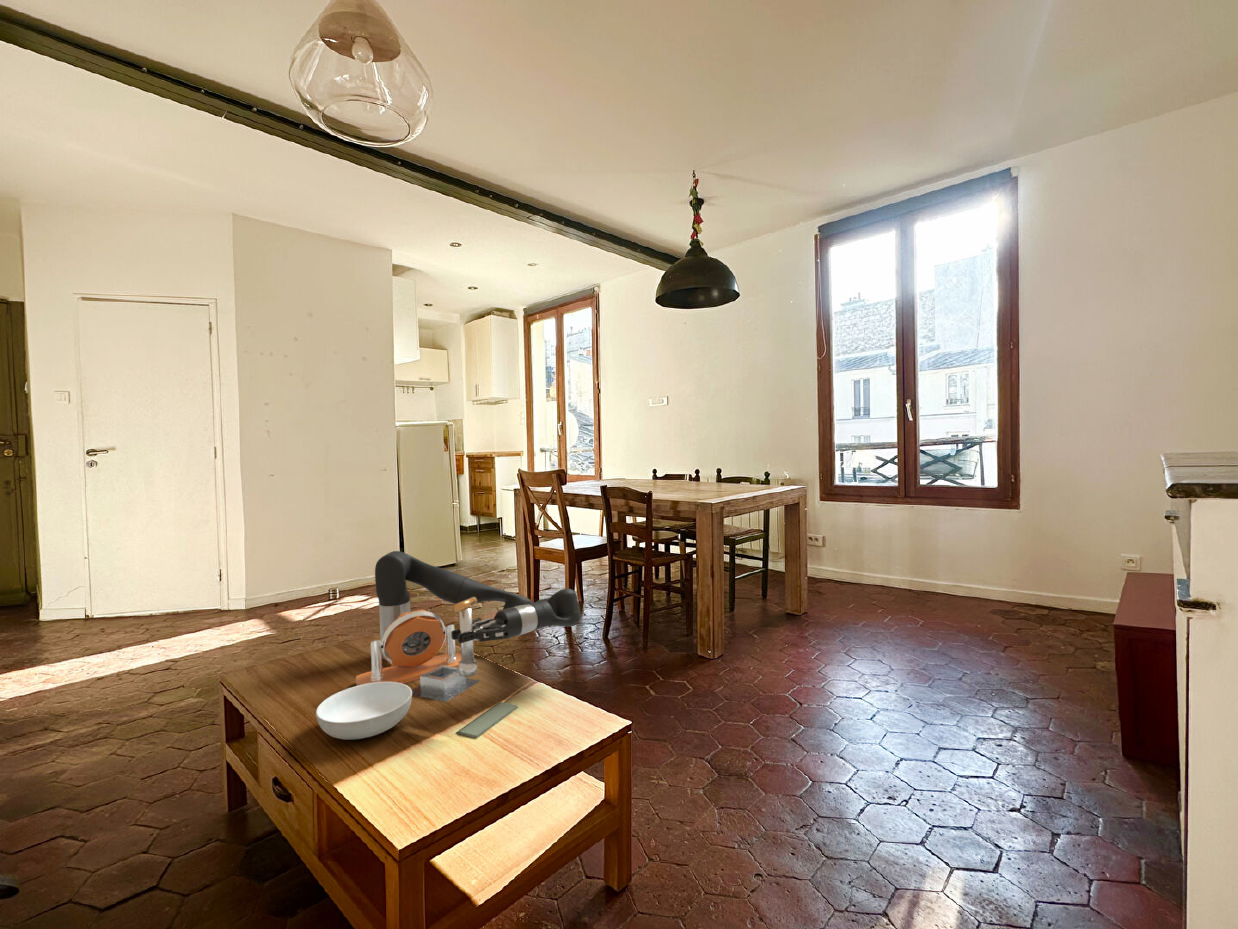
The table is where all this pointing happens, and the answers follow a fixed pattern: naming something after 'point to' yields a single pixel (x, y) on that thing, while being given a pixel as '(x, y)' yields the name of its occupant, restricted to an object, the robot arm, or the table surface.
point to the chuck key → (467, 655)
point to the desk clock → (411, 649)
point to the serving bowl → (364, 710)
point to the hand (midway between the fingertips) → (455, 637)
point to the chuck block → (442, 684)
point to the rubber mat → (487, 720)
